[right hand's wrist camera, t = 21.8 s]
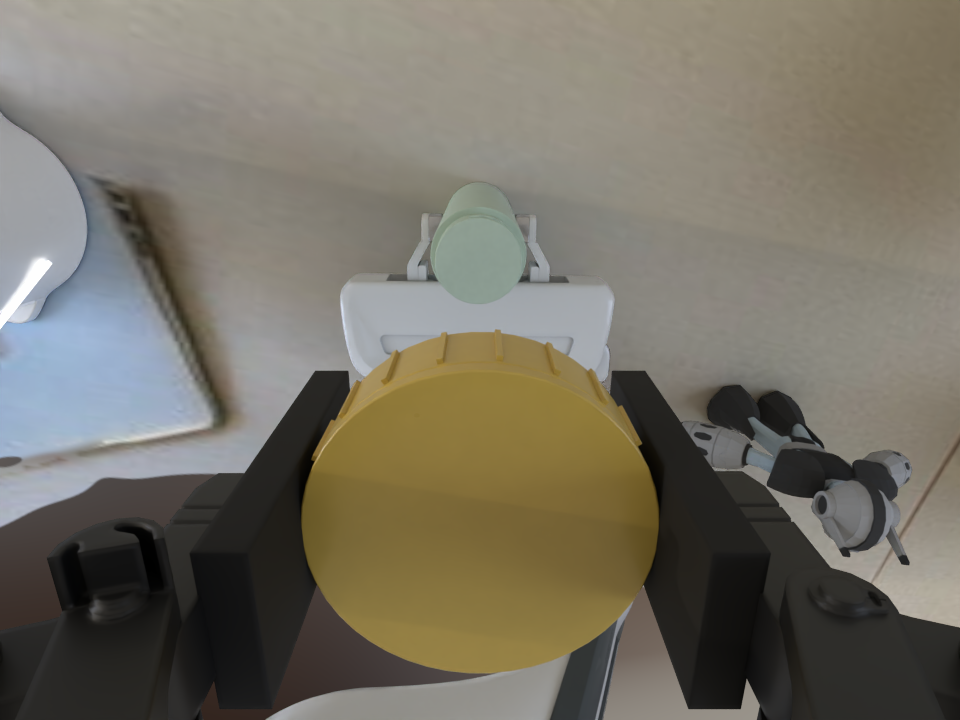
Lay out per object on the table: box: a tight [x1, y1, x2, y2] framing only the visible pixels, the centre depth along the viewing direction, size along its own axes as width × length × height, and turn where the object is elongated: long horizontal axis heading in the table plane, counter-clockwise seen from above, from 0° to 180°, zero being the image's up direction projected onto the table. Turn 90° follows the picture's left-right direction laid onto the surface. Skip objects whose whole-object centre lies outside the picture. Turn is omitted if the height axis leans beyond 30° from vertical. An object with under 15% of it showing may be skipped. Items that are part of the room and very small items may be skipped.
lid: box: [301, 329, 659, 673], centre depth 11 cm, size 6×6×2 cm
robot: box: [681, 385, 912, 565], centre depth 47 cm, size 20×5×20 cm, turn 81°
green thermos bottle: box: [430, 182, 527, 304], centre depth 42 cm, size 5×5×19 cm
